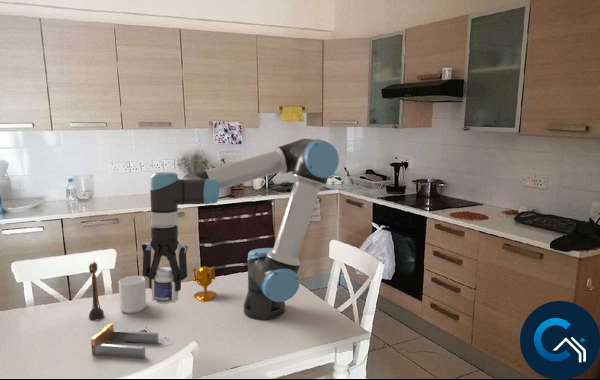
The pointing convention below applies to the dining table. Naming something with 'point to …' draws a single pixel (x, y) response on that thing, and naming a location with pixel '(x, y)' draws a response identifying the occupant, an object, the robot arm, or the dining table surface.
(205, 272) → the gold trophy cup
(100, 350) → the rail cradle
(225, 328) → the dining table surface
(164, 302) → the pill bottle
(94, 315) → the wooden tabletop sculpture
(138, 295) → the mug
